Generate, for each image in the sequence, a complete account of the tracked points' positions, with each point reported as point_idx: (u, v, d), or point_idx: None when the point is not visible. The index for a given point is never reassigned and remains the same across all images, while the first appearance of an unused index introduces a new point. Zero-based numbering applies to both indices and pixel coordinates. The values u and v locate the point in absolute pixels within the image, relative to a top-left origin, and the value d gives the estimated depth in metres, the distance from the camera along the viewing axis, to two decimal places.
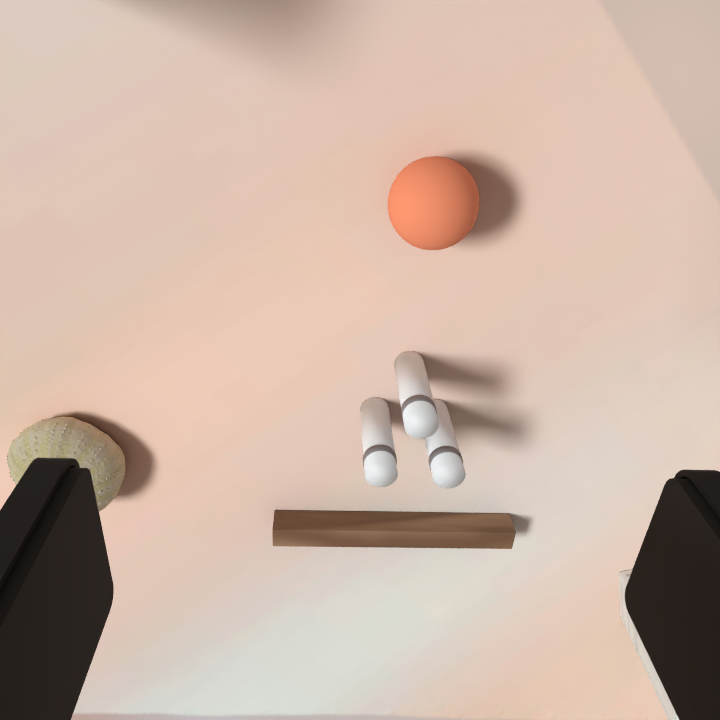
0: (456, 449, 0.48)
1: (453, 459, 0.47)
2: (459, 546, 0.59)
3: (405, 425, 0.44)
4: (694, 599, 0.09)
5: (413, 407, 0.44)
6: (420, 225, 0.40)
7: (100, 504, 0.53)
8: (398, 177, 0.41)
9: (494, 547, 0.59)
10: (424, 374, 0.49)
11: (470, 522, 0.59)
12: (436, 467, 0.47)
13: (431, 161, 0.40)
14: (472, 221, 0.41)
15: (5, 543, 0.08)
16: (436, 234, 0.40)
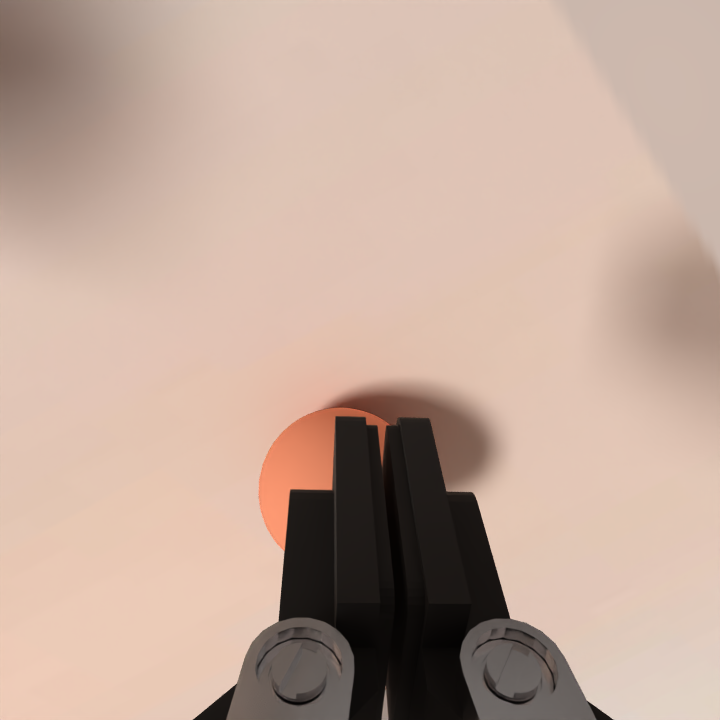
0: None
1: None
2: None
3: None
4: None
5: None
6: None
7: None
8: (272, 455, 0.23)
9: None
10: None
11: None
12: None
13: (327, 437, 0.22)
14: None
15: (358, 482, 0.09)
16: None
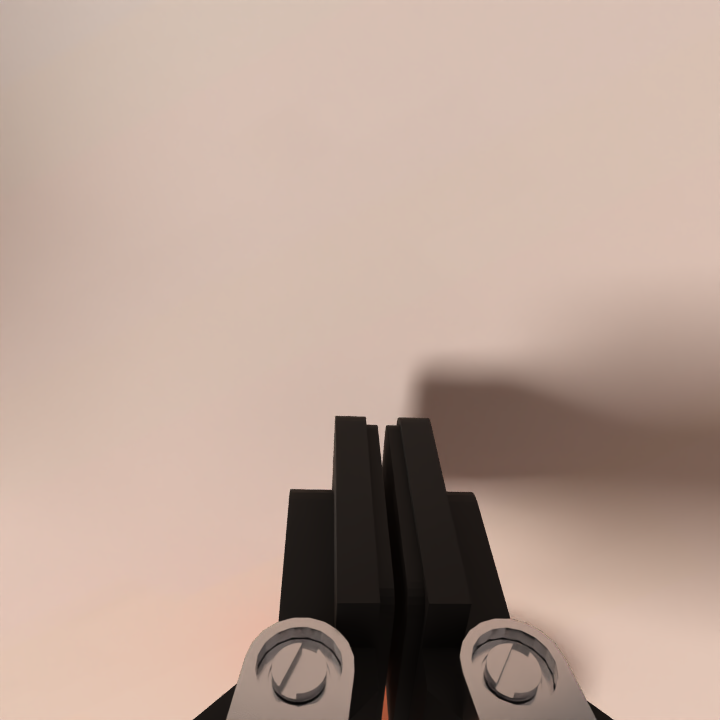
0: None
1: None
2: None
3: None
4: None
5: None
6: None
7: None
8: None
9: None
10: None
11: None
12: None
13: None
14: None
15: (358, 482, 0.09)
16: None
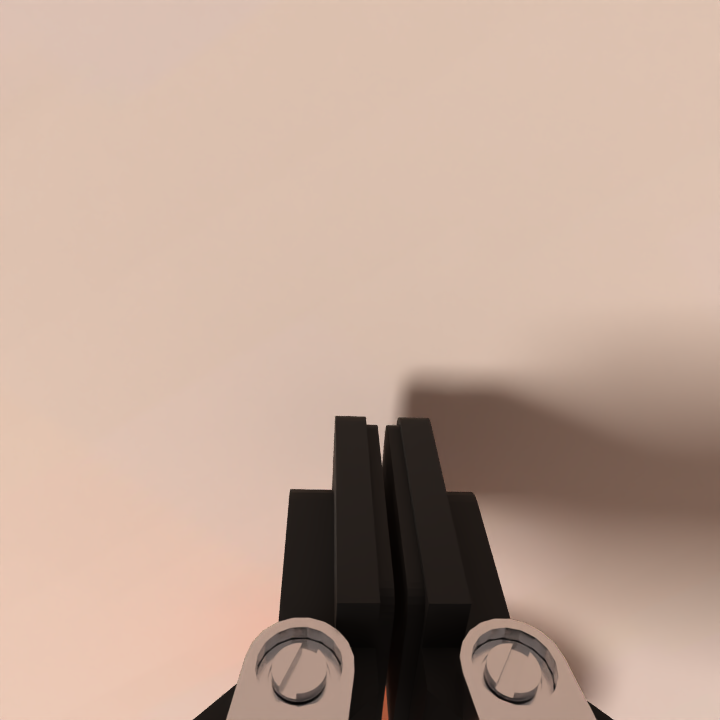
0: None
1: None
2: None
3: None
4: None
5: None
6: None
7: None
8: None
9: None
10: None
11: None
12: None
13: None
14: None
15: (358, 482, 0.09)
16: None
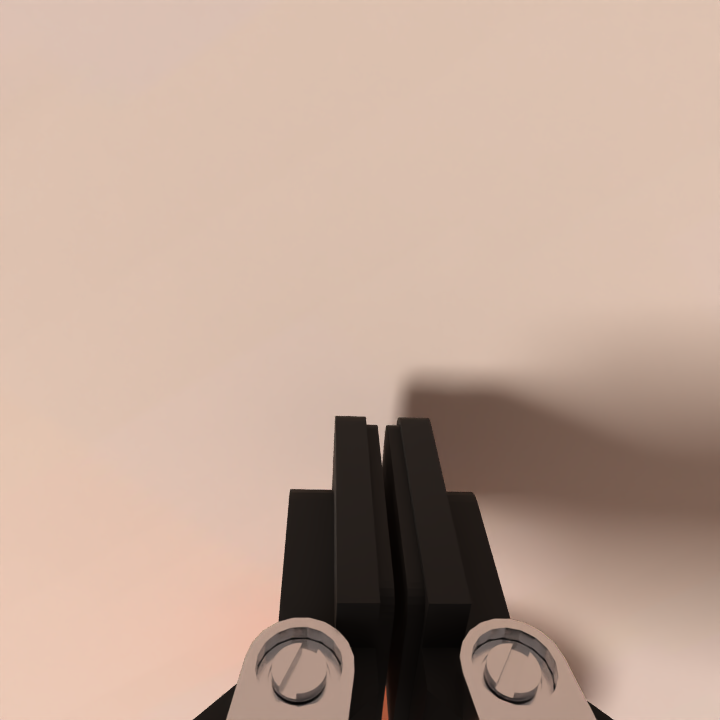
0: None
1: None
2: None
3: None
4: None
5: None
6: None
7: None
8: None
9: None
10: None
11: None
12: None
13: None
14: None
15: (358, 482, 0.09)
16: None
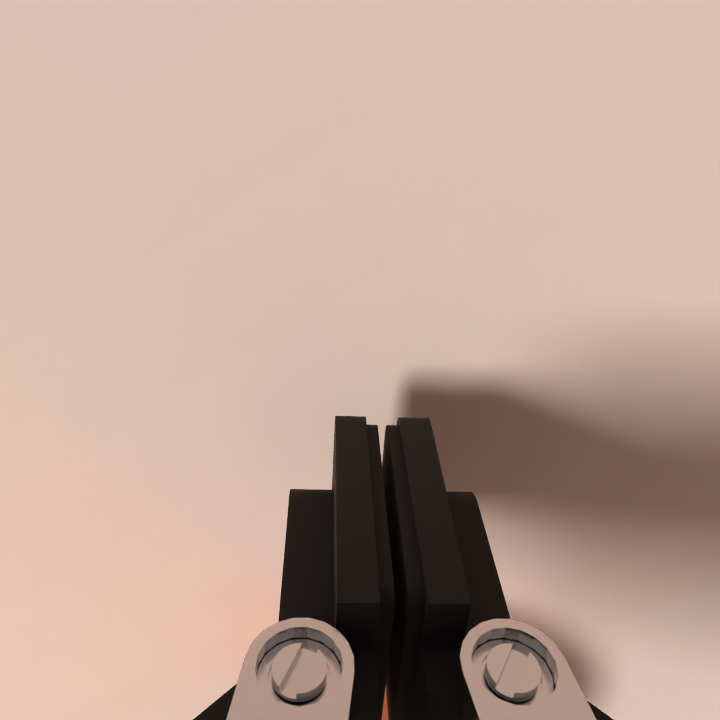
0: None
1: None
2: None
3: None
4: None
5: None
6: None
7: None
8: None
9: None
10: None
11: None
12: None
13: None
14: None
15: (358, 482, 0.09)
16: None
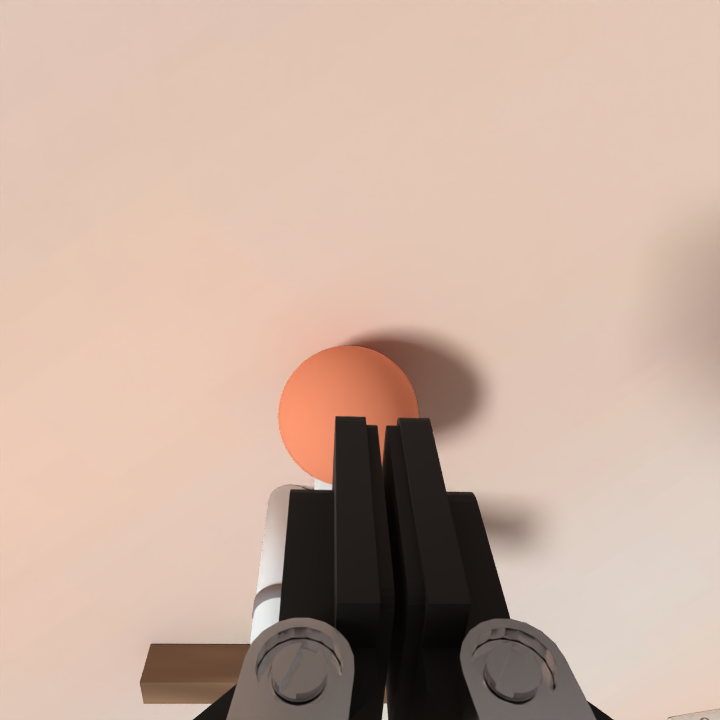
0: None
1: None
2: None
3: None
4: None
5: None
6: None
7: None
8: None
9: None
10: None
11: None
12: None
13: None
14: None
15: (358, 482, 0.09)
16: None
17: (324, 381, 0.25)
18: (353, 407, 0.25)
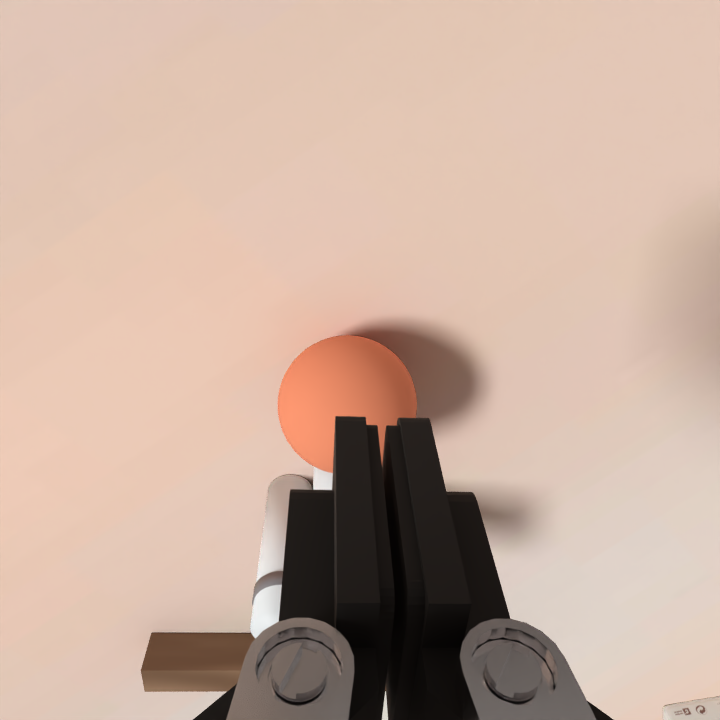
0: None
1: None
2: None
3: None
4: None
5: None
6: None
7: None
8: None
9: None
10: None
11: None
12: None
13: None
14: None
15: (358, 482, 0.09)
16: None
17: (323, 370, 0.25)
18: (352, 395, 0.25)
